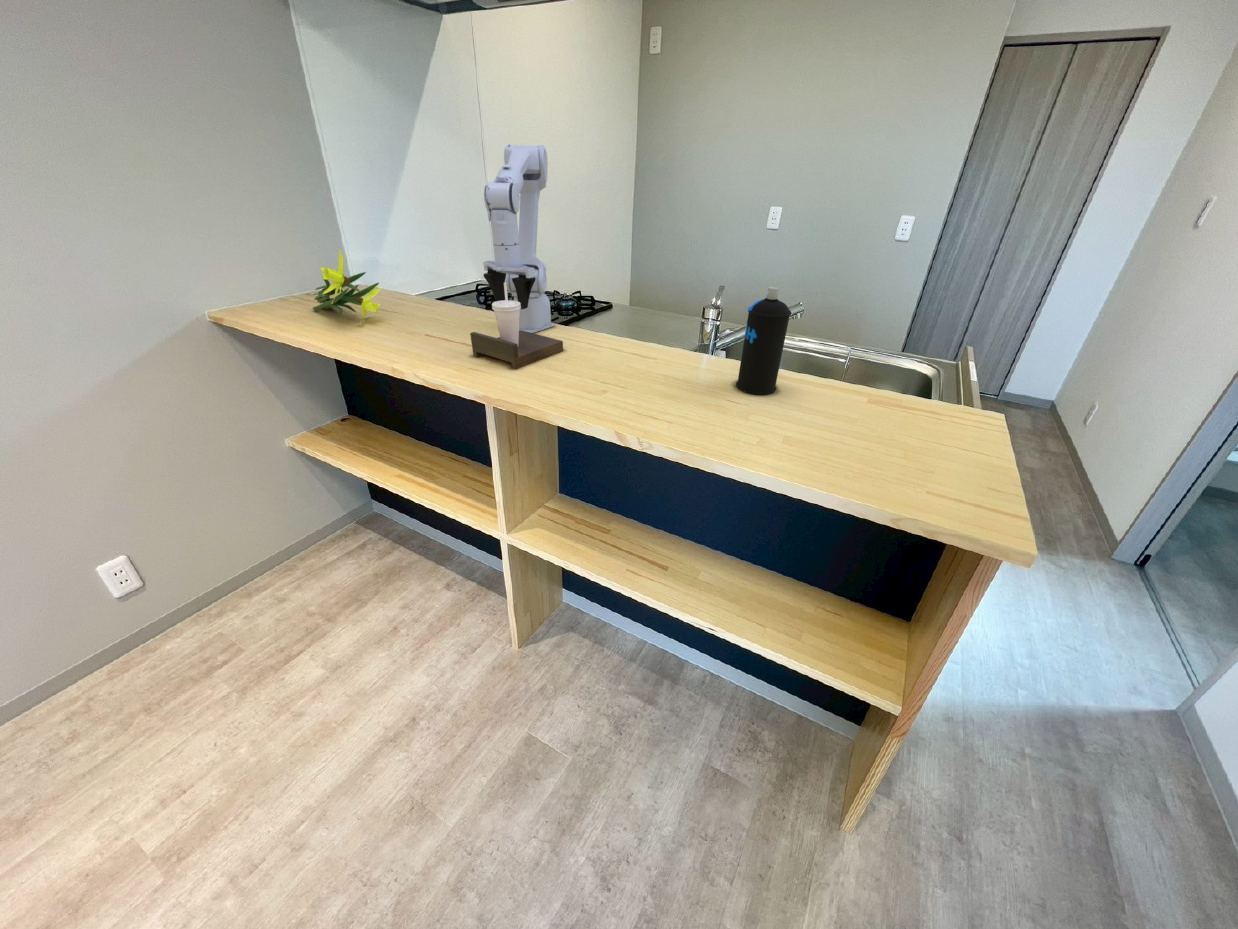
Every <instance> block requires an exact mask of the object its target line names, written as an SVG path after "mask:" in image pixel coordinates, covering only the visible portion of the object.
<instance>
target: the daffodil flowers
mask: <svg viewBox="0 0 1238 929" xmlns="http://www.w3.org/2000/svg"><path fill="white" fill-rule="evenodd" d="M344 266H345V265H344V255H343V253H342V250H341V249H339V251H338V266H337V269H338V270H335V269H333V268H329V267H323V266H322V267H321V266H320V267H319V270H320V271H321V272H322V273H321V274H322V275H321V276H322V279H323V281H324V283H325V284H324V285H321V286H318V287H316V288H315V289H314V290H315V291H318V290H319V291H318V292H317V295H316V296H315V297H314V301H316V302H317V303H318V305H316V306H313V307H312V308H311V309H312V310H313V311H319V310H324V309H332V308H334V309H337V310H338V312H339V314H340V316H341V317H343V315H344V310H343V308H345V309H348V310H350V311H352V312H353V313H356V314H357V311H356V310H355V309H354V308H353V307H352V306H350V305H349V303H350V304H354V305H356V306H357V305H358V306H360V315H361V316H363V317H364V319H367V316H368V315H367V312H372V313H375V314H377V313H378V312H379V309H380V306H381V304H379V303H375V302H372V301H370V300H372V299H373V297H375V296H377V294H378V293H379V292H381V290H382V289H383V288H382V287H380V288H378V286H379V284H380V282H375V283H374V284H372V285H370V286H368V287H366V288H364V289H362V290H360V289H358V287H359V284H357V285H354V284H352V283H354V282H356V281H358V280H359V279H360V278H362V277H363V276H364V275H365V274H366V273H367V272H366V271H364V272H360V273H356V274H354V275H351V276H345V271H344ZM330 281H332V282H330ZM345 287H348V288H346V289H344V290H343V289H342V288H345ZM349 289H350V290H349ZM355 292H356V293H355ZM367 294H368V295H367ZM333 295H334V297H332V298H331V297H330V296H333ZM366 295H367V296H366ZM364 296H365V297H364ZM341 307H343V308H341ZM359 321H360V322H359V323H360V324H359V326H361V323H362V322H361V318H360V320H359Z"/></svg>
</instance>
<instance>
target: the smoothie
mask: <svg viewBox="0 0 1238 929" xmlns="http://www.w3.org/2000/svg"><path fill="white" fill-rule="evenodd" d="M504 291H505V300H502V301H496V300H495V301H494V302H492V303H491V309H492V310H493V311H494V318H495V321H496V326H497V329H498V330H497V331H498V333H499V337H500V338H501V339H502V340H505V341H509V342H513V343H516V344H517V347H518V343H519V316H520V309H521V303H520V302H518V301H514V299H513V300H512V299H509V297H508V296H509V295H508V290H507V285H506V282H504Z"/></svg>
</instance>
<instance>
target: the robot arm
mask: <svg viewBox="0 0 1238 929" xmlns="http://www.w3.org/2000/svg"><path fill="white" fill-rule="evenodd" d="M503 161H504V164H503V165H502V166H501V168H500V169H499V171H498V172H497V175H496V176H495V178H494V180H493V182H491V181H490V182H488V184H485V186H484V190H483V200H484V206H485V209H486V213H487V219H488V222H490V228H491V235H492V236H491V237H492V245H493V255H494V260H485V261H483V262H482V263H483V264H482V265H483V270H484V271H485V273H483V278H484V279H485V280H486V282H487V283H488V286H489V288H490V289H491V292H492V294H493V297H494V300H495V302H496V301H502V300H505V291H504V282H506V285H507V292H508V293H510V294H511V297H513V301H518V302H520V303H521V309H520V316H519V331H521V330H522V331H526V332H530V333H534V334H535V333H537V332H541V331H543V330H546V329H549V328H552V327H554V324H553V323H552V312H551V302H550V301H551V300H550V299H549V297H548V296H547V294H546V291H547V285H548V284H547V280H548V279H547V268H546V265H545V263H544V262H543V261H542V260H540V258H538V257H537V243H538V241H537V240H538V239H537V238H538V223H539V222H538V221H539V220H538V219H539V201H540V195H541V191H542V190H544V189H545V188H547V182H548V169H549V167H548V166H549V164H548V152H547V149H546V147H545V146H544V145H543V144H540V145H525V144H524V145H523V144H522V145H521V144H520V145H518V144H509V143H507V144H506V145H505V147H504V149H503ZM518 212H519V216H518V215H517V214H518ZM518 217H519V218H518Z"/></svg>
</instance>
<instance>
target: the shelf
mask: <svg viewBox="0 0 1238 929" xmlns="http://www.w3.org/2000/svg"><path fill="white" fill-rule="evenodd" d="M469 336H470V342H471V348H472V349H471V350H472V355H473V356H472V357H475V358H478V357H482V356H484V355H486V356H489V357H493V358H494V359H495V358H496V359H498V360H501V361H505V362H509V363H510V364H511V369H514V370H517V369H520V368H522V367H525V366H528V365H531V364H533V363H536V362H539V361H541V360H543V359H546V358H549V357H551V356H554V355H556V354H558V353H559V354H560V353H561V352H564V341H563V340H561V339H557V338H552V337H550V336H545V335H542V334H537V333H535V332H534V333H530V332H526V331H522V330H521V331H519V343H518V347H517V344H516V343H513V342H509V341H505V340H502V339H501V338H500V336H499V337H494V336H490V335H488V334H483V333H481V332H476V331H472V332H470V333H469Z"/></svg>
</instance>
